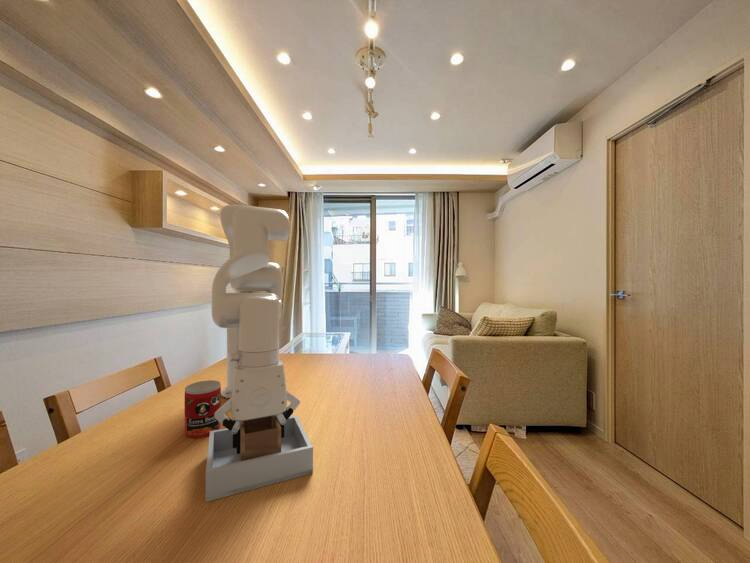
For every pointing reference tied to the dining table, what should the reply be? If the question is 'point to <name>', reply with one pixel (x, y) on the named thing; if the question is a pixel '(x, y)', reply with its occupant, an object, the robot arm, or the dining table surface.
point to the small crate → (260, 438)
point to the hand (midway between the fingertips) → (259, 445)
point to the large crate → (256, 462)
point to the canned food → (202, 408)
